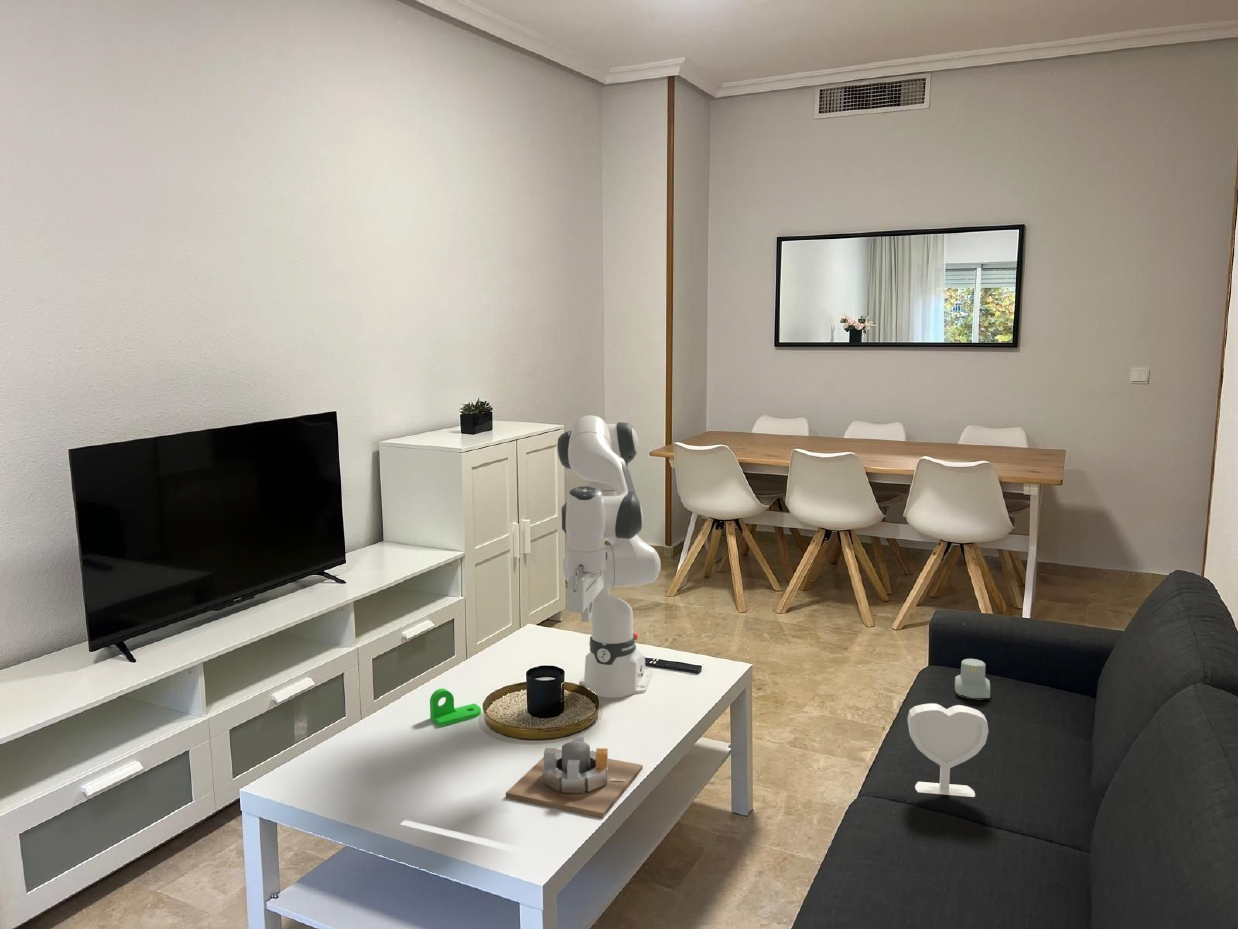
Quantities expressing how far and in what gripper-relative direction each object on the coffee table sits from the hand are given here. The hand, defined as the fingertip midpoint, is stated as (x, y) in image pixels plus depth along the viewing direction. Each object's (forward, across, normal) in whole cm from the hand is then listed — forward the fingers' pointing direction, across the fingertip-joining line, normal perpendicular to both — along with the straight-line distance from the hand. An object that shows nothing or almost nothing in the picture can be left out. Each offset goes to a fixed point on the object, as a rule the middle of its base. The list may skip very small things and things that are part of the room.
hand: (586, 620), depth 208 cm
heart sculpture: (+31, -2, -78) cm, 84 cm away
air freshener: (+32, +49, -91) cm, 108 cm away
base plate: (+31, -15, -1) cm, 35 cm away
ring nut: (+30, -15, -1) cm, 34 cm away
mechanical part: (+32, +10, +36) cm, 49 cm away
